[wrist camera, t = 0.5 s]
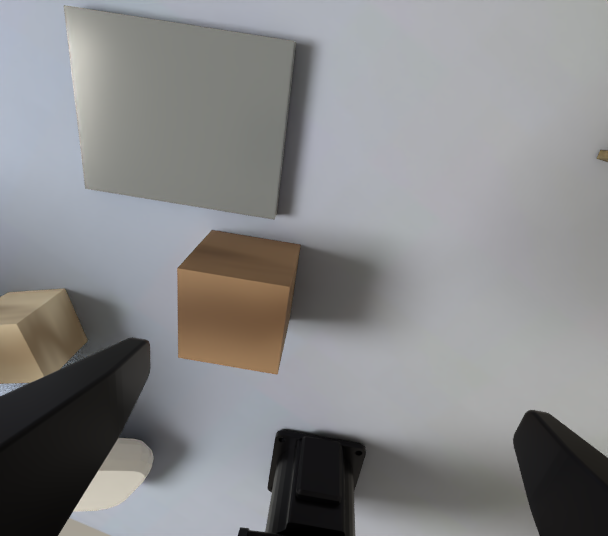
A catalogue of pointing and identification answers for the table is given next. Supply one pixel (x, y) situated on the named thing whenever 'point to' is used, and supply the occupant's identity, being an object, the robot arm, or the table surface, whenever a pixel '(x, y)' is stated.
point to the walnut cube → (236, 301)
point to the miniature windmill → (603, 155)
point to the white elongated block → (118, 475)
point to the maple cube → (37, 334)
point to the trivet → (180, 110)
